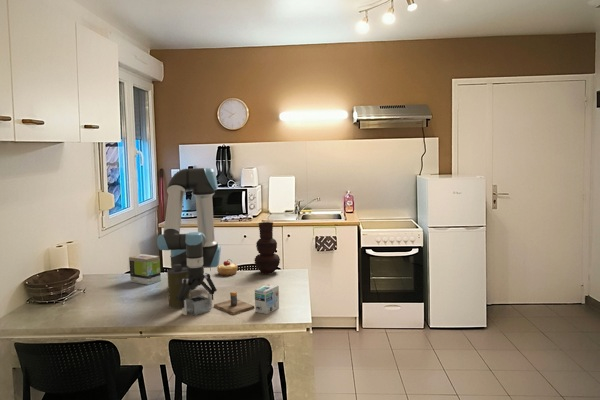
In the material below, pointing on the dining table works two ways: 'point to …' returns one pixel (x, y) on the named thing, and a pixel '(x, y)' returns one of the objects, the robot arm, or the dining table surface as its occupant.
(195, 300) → the grey hollow block
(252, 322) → the dining table surface
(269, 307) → the light bulb box
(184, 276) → the canister
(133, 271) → the tea box
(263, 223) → the vase
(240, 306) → the wooden base with peg
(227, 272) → the pastry
